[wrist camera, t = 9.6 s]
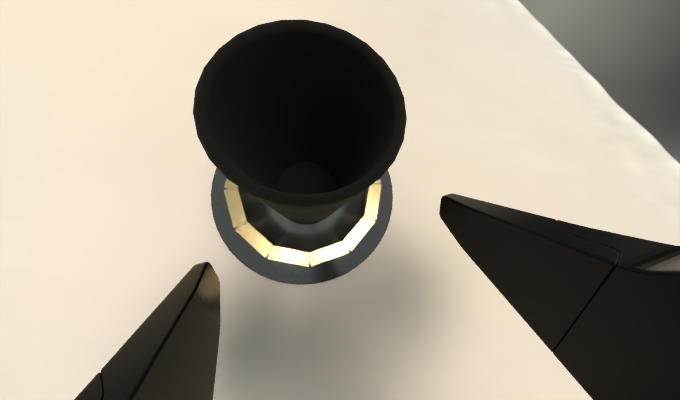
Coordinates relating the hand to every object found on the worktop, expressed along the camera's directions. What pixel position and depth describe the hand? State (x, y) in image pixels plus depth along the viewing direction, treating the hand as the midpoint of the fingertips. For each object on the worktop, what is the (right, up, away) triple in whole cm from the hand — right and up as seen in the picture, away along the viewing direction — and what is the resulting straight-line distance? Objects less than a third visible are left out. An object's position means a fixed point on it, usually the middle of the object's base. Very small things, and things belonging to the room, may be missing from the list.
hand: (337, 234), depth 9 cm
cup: (-3, +2, +11) cm, 12 cm away
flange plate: (-3, +2, +12) cm, 12 cm away
